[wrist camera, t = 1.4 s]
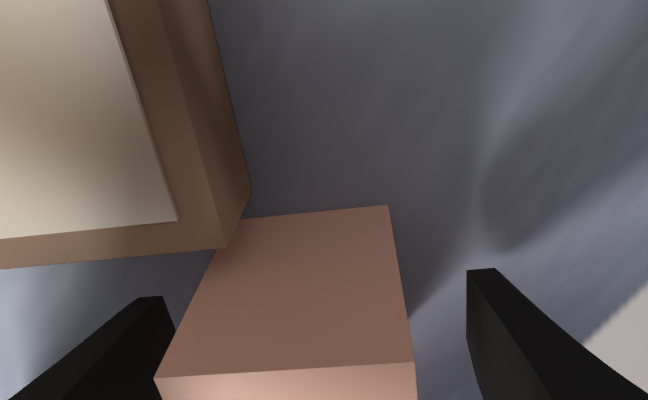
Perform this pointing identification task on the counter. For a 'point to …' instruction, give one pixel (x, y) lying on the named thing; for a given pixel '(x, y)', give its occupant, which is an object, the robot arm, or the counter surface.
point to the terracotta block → (297, 314)
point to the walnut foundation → (114, 132)
